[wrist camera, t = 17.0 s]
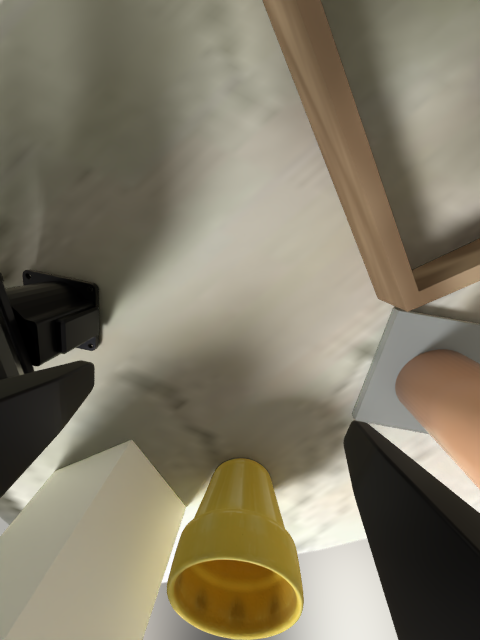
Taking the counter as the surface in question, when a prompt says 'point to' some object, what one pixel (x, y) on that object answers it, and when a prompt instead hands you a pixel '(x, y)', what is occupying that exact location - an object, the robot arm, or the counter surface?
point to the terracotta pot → (446, 403)
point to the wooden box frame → (359, 163)
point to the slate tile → (397, 350)
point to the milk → (89, 551)
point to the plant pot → (237, 559)
